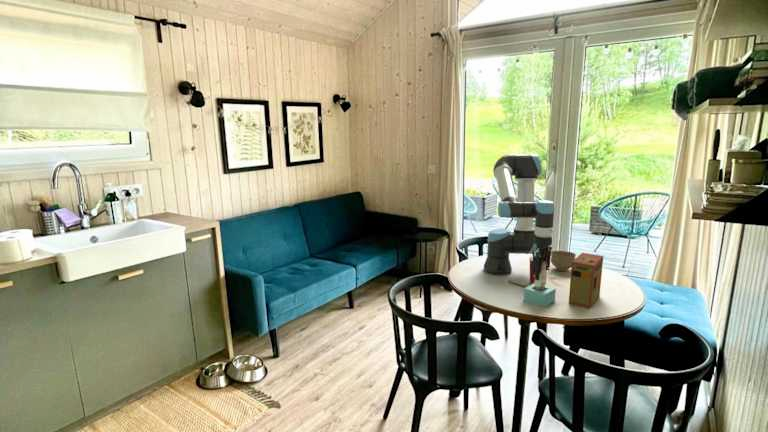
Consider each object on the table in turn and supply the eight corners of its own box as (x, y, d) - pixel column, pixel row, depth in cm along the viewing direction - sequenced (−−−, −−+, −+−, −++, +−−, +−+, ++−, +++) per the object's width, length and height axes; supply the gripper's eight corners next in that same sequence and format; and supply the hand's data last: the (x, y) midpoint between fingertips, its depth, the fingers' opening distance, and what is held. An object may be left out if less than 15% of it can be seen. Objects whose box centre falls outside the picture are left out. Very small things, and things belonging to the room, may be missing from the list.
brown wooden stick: (508, 282, 210) (508, 280, 209) (509, 282, 210) (509, 280, 210) (527, 288, 202) (527, 286, 202) (528, 287, 202) (528, 285, 202)
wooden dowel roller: (533, 294, 187) (535, 261, 183) (537, 291, 189) (539, 259, 186) (541, 296, 184) (543, 263, 180) (546, 294, 186) (548, 261, 183)
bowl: (576, 268, 229) (577, 251, 227) (572, 275, 218) (574, 257, 216) (552, 264, 235) (553, 248, 233) (547, 271, 225) (549, 253, 223)
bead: (523, 300, 188) (524, 288, 186) (534, 294, 194) (535, 282, 193) (544, 307, 180) (544, 294, 179) (554, 300, 187) (555, 288, 185)
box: (578, 292, 196) (582, 252, 191) (599, 296, 190) (603, 256, 186) (568, 304, 183) (572, 261, 179) (590, 309, 177) (594, 265, 173)
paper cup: (536, 286, 203) (537, 260, 200) (524, 282, 210) (525, 256, 207) (547, 284, 207) (549, 257, 204) (535, 279, 213) (536, 253, 210)
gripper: (541, 240, 172) (538, 292, 177) (560, 233, 183) (557, 282, 188) (525, 237, 178) (522, 287, 183) (544, 230, 189) (541, 278, 194)
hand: (540, 284), depth 186 cm, fingers closed on wooden dowel roller, 4 cm apart
